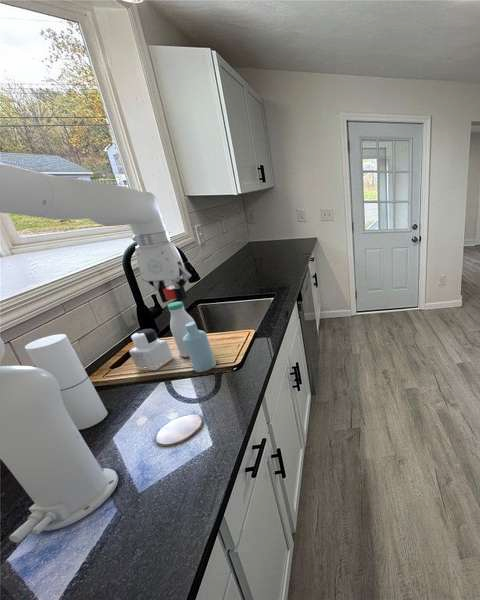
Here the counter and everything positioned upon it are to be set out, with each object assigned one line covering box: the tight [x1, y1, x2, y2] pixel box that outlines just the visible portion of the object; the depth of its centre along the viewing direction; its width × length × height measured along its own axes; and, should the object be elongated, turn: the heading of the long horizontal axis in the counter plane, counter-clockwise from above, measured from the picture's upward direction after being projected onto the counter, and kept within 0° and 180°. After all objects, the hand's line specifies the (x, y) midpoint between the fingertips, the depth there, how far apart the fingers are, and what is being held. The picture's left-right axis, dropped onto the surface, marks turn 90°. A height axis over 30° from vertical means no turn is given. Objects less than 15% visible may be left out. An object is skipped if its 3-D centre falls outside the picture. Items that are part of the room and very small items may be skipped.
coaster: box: [155, 414, 203, 447], centre depth 81 cm, size 10×10×1 cm
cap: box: [162, 285, 177, 301], centre depth 92 cm, size 4×4×3 cm
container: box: [128, 328, 174, 371], centre depth 109 cm, size 8×8×13 cm
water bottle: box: [183, 322, 217, 373], centre depth 105 cm, size 7×7×16 cm
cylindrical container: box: [24, 333, 109, 431], centre depth 82 cm, size 7×7×25 cm
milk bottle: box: [167, 301, 196, 358], centre depth 114 cm, size 8×8×20 cm
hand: (174, 299), depth 93 cm, fingers closed on cap, 4 cm apart
